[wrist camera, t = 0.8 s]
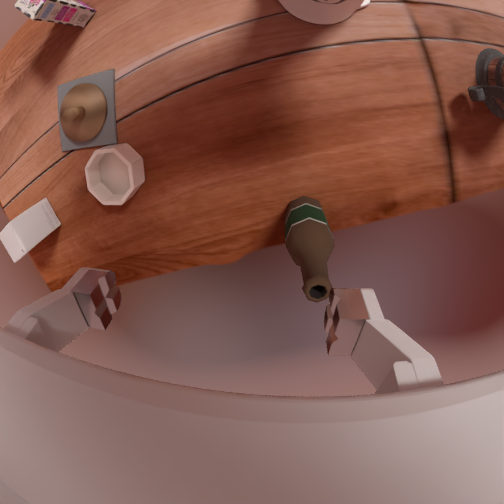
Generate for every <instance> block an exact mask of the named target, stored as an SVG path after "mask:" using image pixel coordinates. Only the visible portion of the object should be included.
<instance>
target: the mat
mask: <svg viewBox="0 0 504 504" xmlns="http://www.w3.org/2000/svg"><path fill="white" fill-rule="evenodd" d="M82 83H92V84H95V85H97V86H98V87H99V88H100V89H101V90H102V91H103V92H104V94H105V97H106V100H107V106H108V112H107V118H106V121H105V124H104V126H103V128H102V130H101V131H100V133H99V134H98V135H97V136H95V137H94V138H92V139H90V140H88V141H85V142H76V141H73V140H71V139H70V138H69V137H67V135H66V134H65V133H64V131H63V129H62V126H61V122H60V109H61V104H62V102H63V99H64V97H65V96H66V94H67V93H68V92H69V90H70V89H72V88H73V87H74V86H76V85H78V84H82ZM58 113H59V126H60V137H61V146H62V151H68V150H73V149H80V148H86V147H93V146H100V145H108V144H116V143H117V130H116V114H115V69H111V70H107V71H103V72H99V73H96V74H92V75H89V76H86V77H82V78H79V79H76V80H73V81H70V82H67V83H64V84H61V85H59V86H58Z"/></svg>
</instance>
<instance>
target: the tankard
mask: <svg viewBox="0 0 504 504" xmlns="http://www.w3.org/2000/svg"><path fill="white" fill-rule="evenodd" d="M476 81H477V85H478V86H473V87H469V88H468V92H469V95H470V98H471V100H472V101H484V103H485V104H486V106H487V107H488V109H489V110H490V111H491V112H492V113H493V114H494V115H496V116H497V117H499V118H501V119H504V55H503V54H502V53H501V52H499V51H498V50H495V49H492V48H487V49H484V50H483V51H482V52H481V53H480V54H479V55H478V58H477V61H476Z"/></svg>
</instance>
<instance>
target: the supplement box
mask: <svg viewBox="0 0 504 504" xmlns="http://www.w3.org/2000/svg"><path fill="white" fill-rule="evenodd" d="M60 225H61V223H60V221H59V220H58V218H57V216H56V214H55V213H54V211H53V209H52V207H51V205H50V203H49V201H48V200H47V198H44V199H43V200H41V201H40V202H38V203H36V204H35V205H33V206H32V207H30V208H29V209H27V210H26V211H24V212H23V213H22V214H20V215H19V216H17V217H16V218H14V219H13V220H12V221H10V222H9V223H8V225H6V227H5V228H4V229H3V230H2V231H1V233H0V239H1V241H2V243H3V244H4V246H5V248H6V249H7V251H8V253H9V255H10V256H11V258H12V260H13V261H14V262H15V263H16V262H17V261H18V260H19V259H21V258H22V257H23V256H24V255H25V254H26V253H28V252H29V251H30V250H31V249H32V248H33V247H35V246H36V245H37V244H38V243H39V242H40V241H42V240H43V239H44V238H45V237H46V236H48V235H49V234H50V233H51V232H52V231H54V230H55V229H56V228H57V227H59V226H60Z"/></svg>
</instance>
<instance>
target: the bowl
mask: <svg viewBox="0 0 504 504" xmlns="http://www.w3.org/2000/svg"><path fill="white" fill-rule="evenodd" d="M85 174H86V181H87V187H88V190H89V191H90V192H91V193H92V194H93V195H94V196H95V197H96V198H97V199H98V200H99V201H100V202H101V203H102V204H103V205H122V204H124V203H125V202H126V201H127V200H129V199H130V198H131V197H132V196H133V195H134V194H135V193H136V192H137V190H138V189H139V188H140V186H141V185H142V184H143V183H144V181H145V174H144V164H143V159H142V157H141V156H140V155H139V154H138V153H137V152H136V151H135V150H134V149H133V148H132V147H131V146H130V145H129V144H128V143H122V144H113V145H107V146H105V147H102V148H100V149H97V150H95V151H94V153H93V155H92V156H91V158H90V160H89V161H88V163H87V165H86V166H85Z"/></svg>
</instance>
